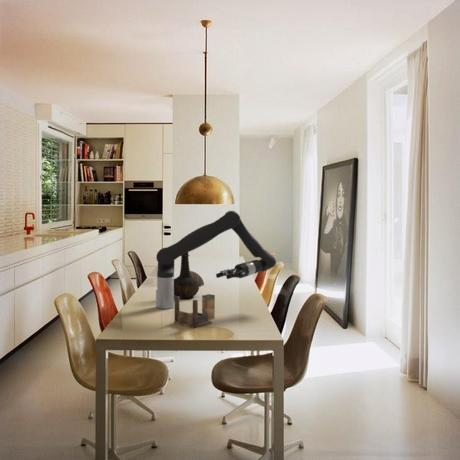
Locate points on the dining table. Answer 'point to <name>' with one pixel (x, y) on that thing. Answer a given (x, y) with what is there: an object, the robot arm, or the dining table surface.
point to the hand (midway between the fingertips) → (221, 276)
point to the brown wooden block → (208, 305)
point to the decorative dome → (197, 278)
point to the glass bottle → (185, 280)
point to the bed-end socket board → (190, 316)
